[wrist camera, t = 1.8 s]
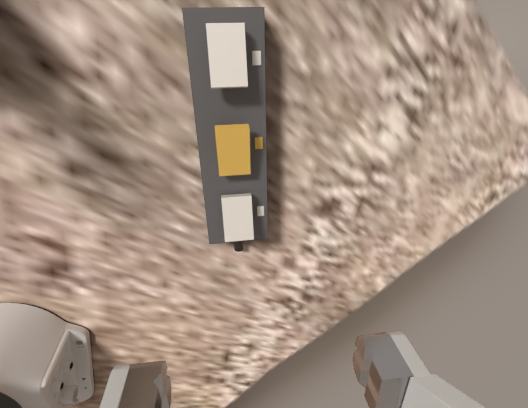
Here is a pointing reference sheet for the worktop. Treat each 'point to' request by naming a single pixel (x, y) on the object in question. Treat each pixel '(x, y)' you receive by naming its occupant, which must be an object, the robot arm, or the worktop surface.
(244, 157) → the block
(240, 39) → the plate
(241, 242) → the power strip
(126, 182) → the worktop surface
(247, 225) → the block
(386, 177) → the worktop surface
